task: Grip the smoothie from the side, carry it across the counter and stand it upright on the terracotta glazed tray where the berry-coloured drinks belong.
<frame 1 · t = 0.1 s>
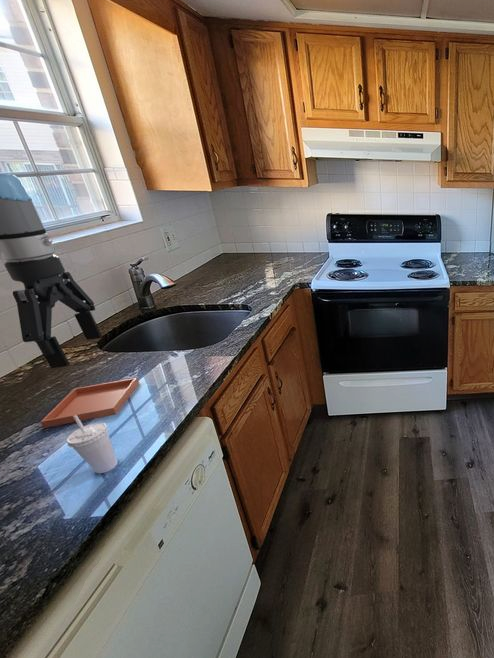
hand: (78, 351, 81), 23 cm above the counter, tool pointing down, fingers open, 13 cm apart
smoothie: (107, 467, 80), on the counter
tray: (96, 403, 101), on the counter
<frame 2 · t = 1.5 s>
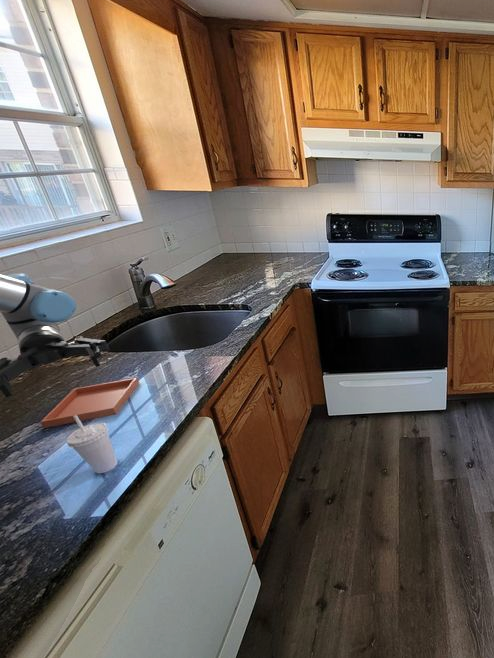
hand: (53, 375, 76), 20 cm above the counter, tool horizontal, fingers open, 13 cm apart
nothing on the counter moved.
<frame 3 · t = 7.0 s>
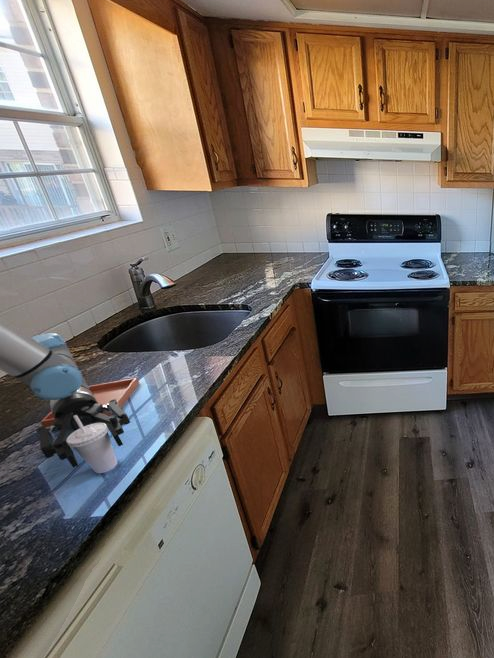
hand: (96, 450, 74), 8 cm above the counter, tool horizontal, fingers closed on smoothie, 6 cm apart
smoothie: (107, 467, 80), on the counter, touching gripper
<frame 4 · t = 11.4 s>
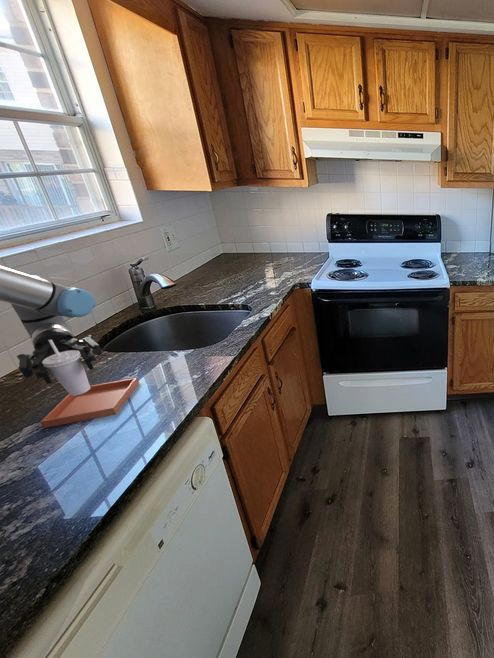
hand: (68, 371, 82), 18 cm above the counter, tool horizontal, fingers closed on smoothie, 6 cm apart
smoothie: (80, 391, 88), point 10 cm above the counter, touching gripper
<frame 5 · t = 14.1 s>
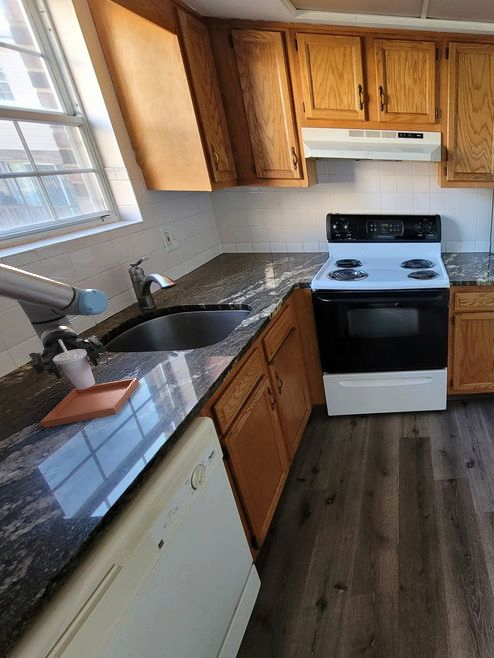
hand: (76, 367, 92), 14 cm above the counter, tool horizontal, fingers closed on smoothie, 6 cm apart
smoothie: (86, 386, 98), point 6 cm above the counter, touching gripper
when the fingers open (8 cm above the counter, at t = 16.0 s): smoothie stays where it is, resting on tray.
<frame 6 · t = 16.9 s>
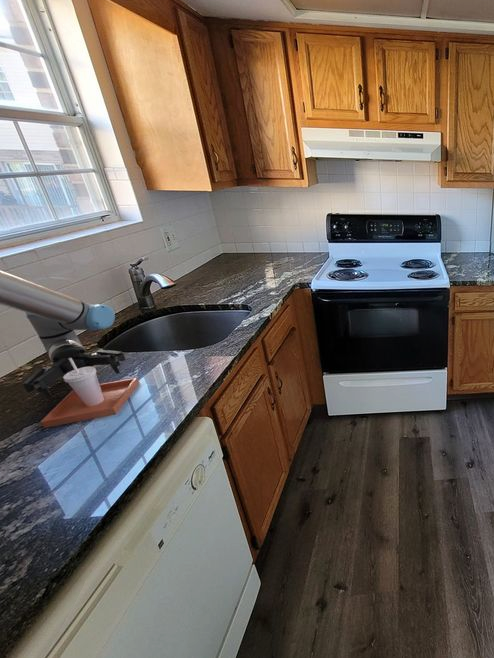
hand: (83, 380, 95), 9 cm above the counter, tool horizontal, fingers open, 13 cm apart
smoothie: (95, 402, 101), resting on tray
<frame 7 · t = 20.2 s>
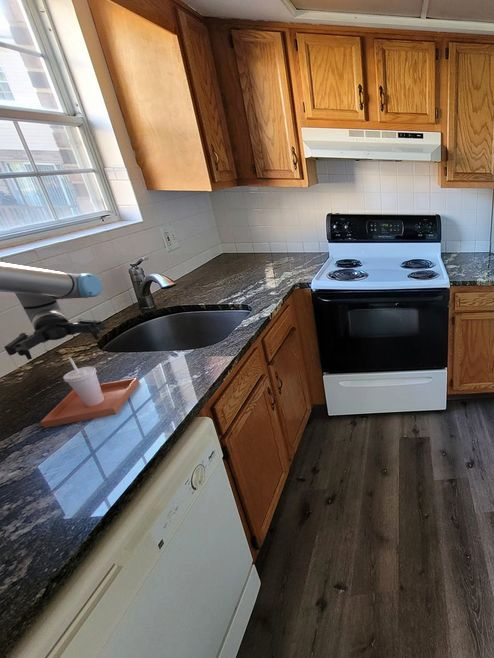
hand: (63, 344, 100), 16 cm above the counter, tool horizontal, fingers open, 13 cm apart
nothing on the counter moved.
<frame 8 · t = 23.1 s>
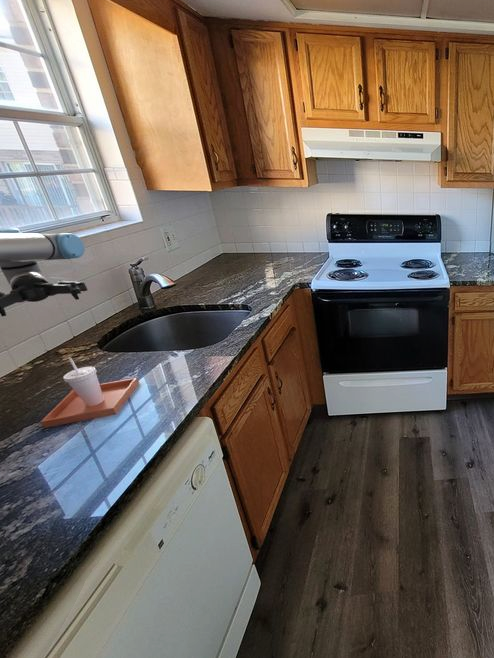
hand: (40, 302, 94), 28 cm above the counter, tool horizontal, fingers open, 13 cm apart
nothing on the counter moved.
at the end: smoothie inside the target area in the tray (0.0 cm from its centre), point 0.3 cm above the tray's base; smoothie tilted 0°; the gripper is holding nothing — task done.
